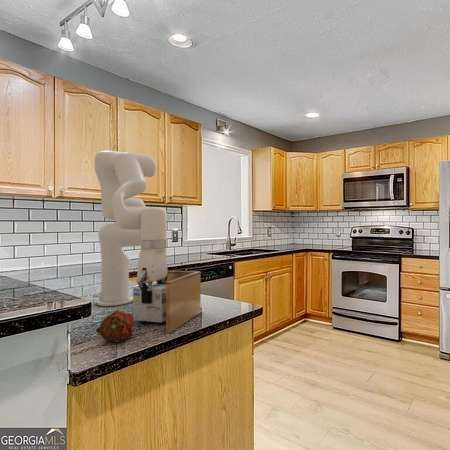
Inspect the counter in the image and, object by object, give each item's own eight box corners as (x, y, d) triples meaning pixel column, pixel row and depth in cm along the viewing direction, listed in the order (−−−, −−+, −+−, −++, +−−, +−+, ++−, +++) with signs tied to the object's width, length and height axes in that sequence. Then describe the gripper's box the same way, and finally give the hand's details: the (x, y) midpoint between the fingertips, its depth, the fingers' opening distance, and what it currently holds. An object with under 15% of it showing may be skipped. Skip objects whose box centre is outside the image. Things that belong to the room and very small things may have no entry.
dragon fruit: (120, 353, 83) (109, 346, 92) (147, 327, 88) (134, 323, 97) (96, 330, 80) (87, 326, 89) (126, 305, 86) (115, 303, 94)
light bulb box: (174, 317, 107) (174, 284, 106) (162, 323, 100) (162, 288, 100) (146, 314, 109) (146, 283, 109) (132, 320, 102) (132, 286, 102)
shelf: (125, 330, 96) (124, 280, 96) (163, 311, 116) (163, 270, 116) (170, 332, 94) (169, 282, 94) (201, 313, 114) (200, 271, 114)
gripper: (158, 243, 113) (158, 294, 113) (125, 247, 96) (125, 307, 96) (178, 243, 112) (178, 294, 112) (148, 247, 95) (148, 308, 95)
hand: (153, 299), depth 104 cm, fingers closed on light bulb box, 6 cm apart
